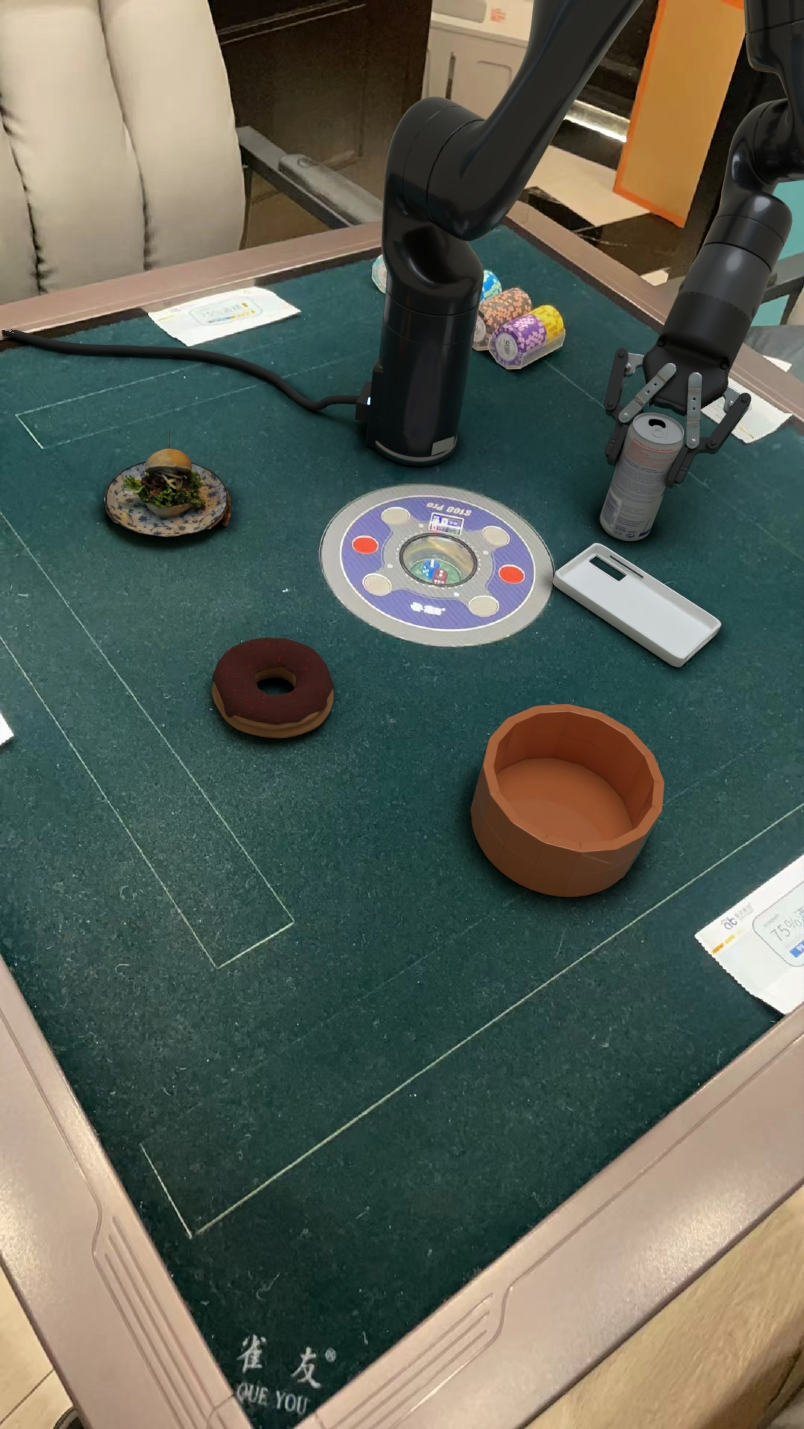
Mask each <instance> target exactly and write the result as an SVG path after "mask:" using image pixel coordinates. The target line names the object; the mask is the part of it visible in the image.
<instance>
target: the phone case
mask: <svg viewBox="0 0 804 1429" xmlns="http://www.w3.org/2000/svg"><path fill="white" fill-rule="evenodd" d="M595 557H596V558H598V559H599V560H601V561H603V562H604V563H605V564H607V565H609V566H610V567H612V568H613V569H615V570H616V571H618V572H619V573H621V574H622V575H624V577H623V578H622V579H620V580H617V579H616V578H614V577H613V576H611V575H610V574H608V573H606V571H603V569H600V568H599V567H597V566H596V565H595V564H594V563H592V562H591V561H592V560H593V559H594V558H595ZM616 560H617V561H616ZM618 561H619V562H618ZM624 565H625V566H624ZM626 566H627V567H628V568H627V567H626ZM641 576H642V577H641ZM552 584H553V585H554V586H555V587H556V588H557V589H558V590H559V591H561V592H562V593H564V594H565V595H567V596H568V597H570V598H571V599H573V600H574V601H576V602H577V603H579V604H580V605H582V606H583V607H585V608H586V609H587V610H589V611H591V612H592V613H593V614H595V615H596V616H598V617H600V618H601V619H602V620H604V621H605V622H607V623H608V624H610V626H613V627H614V628H616V629H617V630H619V631H620V632H622V633H623V634H624V635H626V636H627V637H629V638H630V639H632V640H633V641H634V642H636V643H638V644H639V645H641V646H642V647H644V648H645V649H646V650H648V651H649V652H651V653H652V654H654V655H655V656H657V657H658V658H660V659H661V660H663V661H664V662H666V663H667V664H669V665H670V666H672V667H675V668H681V667H682V666H683V665H684V664H686V663H687V662H688V661H689V660H690V659H691V658H693V657H694V656H695V655H696V654H697V653H698V652H699V651H700V650H701V649H702V648H704V647H705V645H707V644H708V643H709V642H710V641H711V640H713V638H714V637H716V635H718V633H719V630H720V628H721V626H722V622H721V621H720V620H719V619H718V618H717V617H716V616H714V615H713V614H711V613H709V612H708V611H707V610H705V609H704V608H701V607H700V606H699V605H697V604H696V603H694V602H693V601H691V600H689V599H688V598H686V597H685V596H683V595H681V594H680V593H678V592H677V591H675V590H674V589H673V588H671V587H669V586H667V585H666V584H664V583H663V582H661V581H660V580H658V579H657V578H655V577H654V576H653V575H650V574H649V573H647V572H646V571H644V570H643V569H641V568H640V567H638V566H637V565H635V564H634V563H632V562H630V561H629V560H627V559H626V558H625V557H622V556H621V555H620V554H618V553H616V552H615V551H614V550H612V549H610V548H609V547H607V546H606V545H603V544H602V543H599V542H594V543H592V544H591V545H590V546H588V547H586V549H584V550H583V551H581V552H580V553H579V554H577V555H576V556H574V557H573V558H572V559H570V560H569V561H568V562H567V563H565V564H564V565H563V566H561V567H560V568H559V569H557V570H556V571H555V572H554V575H553V579H552Z"/></svg>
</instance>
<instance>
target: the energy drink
mask: <svg viewBox="0 0 804 1429" xmlns="http://www.w3.org/2000/svg"><path fill="white" fill-rule="evenodd" d="M684 436H685V430H684V427H683V426H682V425H681V423H680V422H679V421H677V420H676V419H675V418H673V417H672V416H669V415H666V414H663V413H658V412H646V413H643V414H640V415H638V416H637V417H636V418H635V419H634V421H633V422H632V424H631V425H630V426H629V429H628V432H627V435H626V438H625V441H624V444H623V447H622V450H621V453H620V456H619V459H618V462H617V464H616V466H615V469H614V471H613V475H612V477H611V481H610V484H609V487H608V490H607V493H606V496H605V498H604V499H605V500H604V503H603V505H602V509H601V511H600V515H599V523H600V525H601V527H602V528H603V530H604V531H605V532H606V533H607V534H608V535H609V536H611V537H612V538H615V539H617V540H620V541H624V542H635V541H639V540H642V539H645V538H646V537H647V536H648V535H649V534H650V532H651V530H652V527H653V524H654V522H655V519H656V517H657V514H658V512H659V509H660V506H661V504H662V501H663V498H664V496H665V492H666V490H667V488H668V487H666V486H665V482H666V480H667V477H668V475H669V473H670V471H671V469H672V466H673V464H674V462H675V460H676V458H677V455H678V453H679V451H680V450H681V448H682V447H684V446H683V444H684V443H685V442H684V441H685V440H684V439H685V438H684Z"/></svg>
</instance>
